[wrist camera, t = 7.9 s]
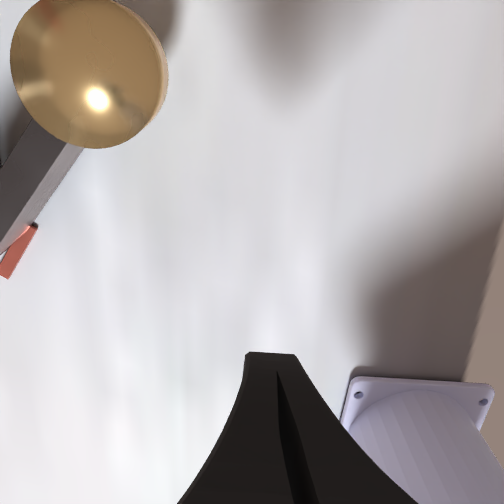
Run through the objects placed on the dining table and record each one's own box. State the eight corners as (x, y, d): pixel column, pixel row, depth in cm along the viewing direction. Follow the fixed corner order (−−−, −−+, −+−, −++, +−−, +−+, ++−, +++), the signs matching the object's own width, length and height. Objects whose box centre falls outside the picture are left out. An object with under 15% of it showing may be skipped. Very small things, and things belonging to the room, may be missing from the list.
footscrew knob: (98, -26, 16) (58, -47, 12) (198, 61, 17) (188, 65, 13) (-33, 190, 19) (-96, 224, 15) (60, 250, 20) (22, 295, 16)
